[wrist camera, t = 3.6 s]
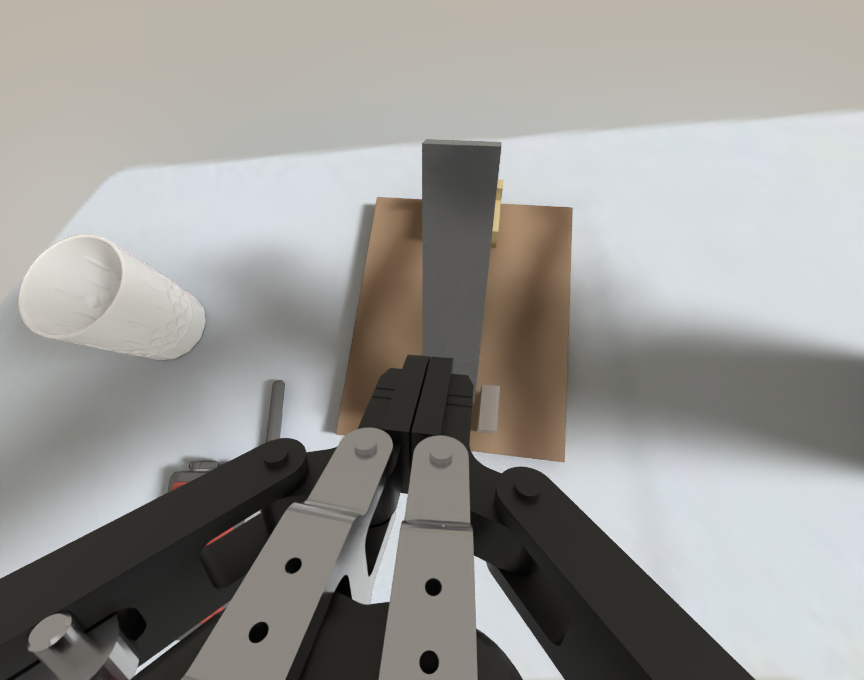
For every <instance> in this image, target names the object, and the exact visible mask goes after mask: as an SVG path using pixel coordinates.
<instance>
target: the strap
mask: <svg viewBox="0 0 864 680" xmlns="http://www.w3.org/2000/svg"><path fill="white" fill-rule="evenodd" d="M500 154H501V142H485V141H458V140H431V139H426V140H425V141H424V142H423V143H422V305H423V356H430V359H431V356H433V357H444V358H453V374H461V375H468V376H469V378H470V380H471V381H472V383H473V385H474V390H473V403H474V404H475V395H476V385H477V375H478V366H479V356H480V346H481V337H482V327H483V317H484V308H485V298H486V289H487V279H488V269H489V260H490V250H491V240H492V231H493V221H494V212H495V202H496V192H497V183H498V173H499V163H500Z"/></svg>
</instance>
